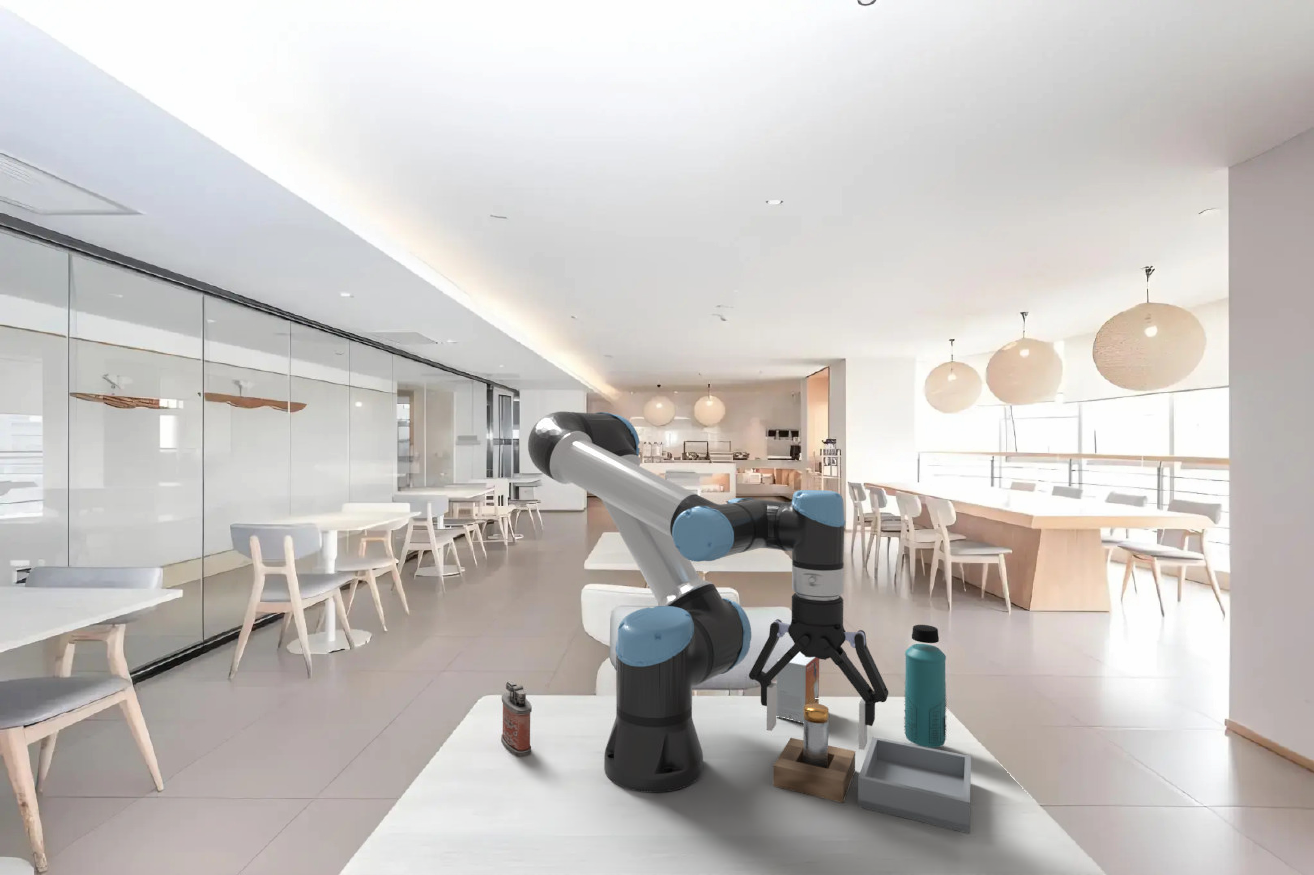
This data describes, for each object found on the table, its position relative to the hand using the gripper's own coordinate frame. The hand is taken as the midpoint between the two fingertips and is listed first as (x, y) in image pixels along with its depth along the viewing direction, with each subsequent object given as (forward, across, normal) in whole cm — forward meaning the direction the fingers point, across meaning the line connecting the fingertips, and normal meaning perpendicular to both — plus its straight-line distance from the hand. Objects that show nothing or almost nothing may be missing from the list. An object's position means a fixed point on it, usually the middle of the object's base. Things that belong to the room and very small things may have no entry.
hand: (815, 736), depth 100 cm
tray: (+6, +14, +2) cm, 15 cm away
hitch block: (+6, 0, 0) cm, 6 cm away
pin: (+6, 0, 0) cm, 6 cm away
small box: (+7, -8, +22) cm, 24 cm away
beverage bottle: (+7, +14, +18) cm, 24 cm away
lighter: (+6, -46, -12) cm, 48 cm away
